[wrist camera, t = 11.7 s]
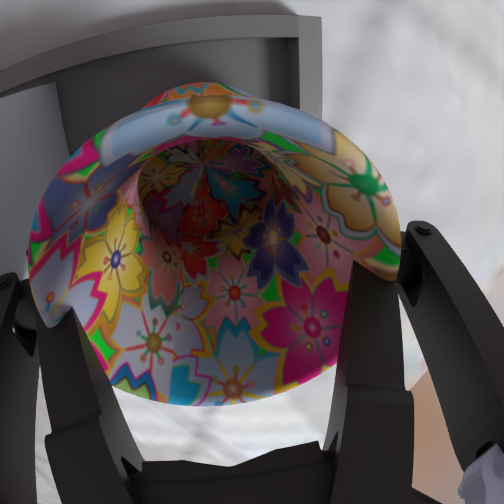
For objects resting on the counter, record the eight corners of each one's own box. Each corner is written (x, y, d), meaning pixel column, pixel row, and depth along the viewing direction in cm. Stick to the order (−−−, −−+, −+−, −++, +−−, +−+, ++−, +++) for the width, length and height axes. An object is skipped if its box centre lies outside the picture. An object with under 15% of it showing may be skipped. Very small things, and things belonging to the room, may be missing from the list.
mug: (154, 46, 12) (79, 24, 4) (322, 121, 16) (461, 216, 7) (86, 248, 17) (34, 406, 9) (225, 290, 21) (253, 444, 12)
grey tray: (-26, 307, 21) (-46, 346, 17) (-95, 134, 11) (-135, 158, 7) (301, 270, 24) (322, 317, 20) (305, 21, 14) (342, 11, 10)
